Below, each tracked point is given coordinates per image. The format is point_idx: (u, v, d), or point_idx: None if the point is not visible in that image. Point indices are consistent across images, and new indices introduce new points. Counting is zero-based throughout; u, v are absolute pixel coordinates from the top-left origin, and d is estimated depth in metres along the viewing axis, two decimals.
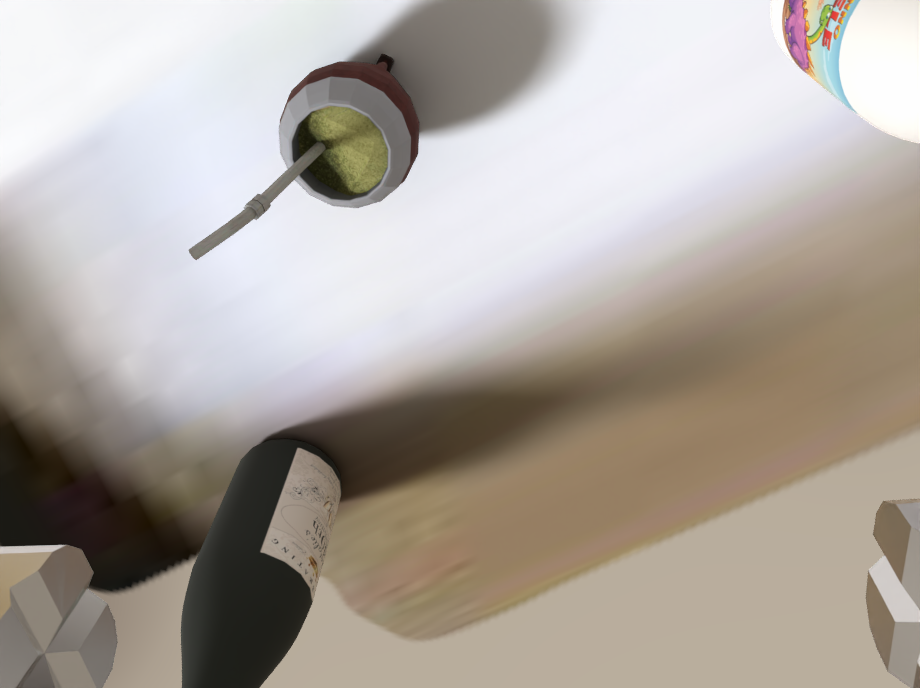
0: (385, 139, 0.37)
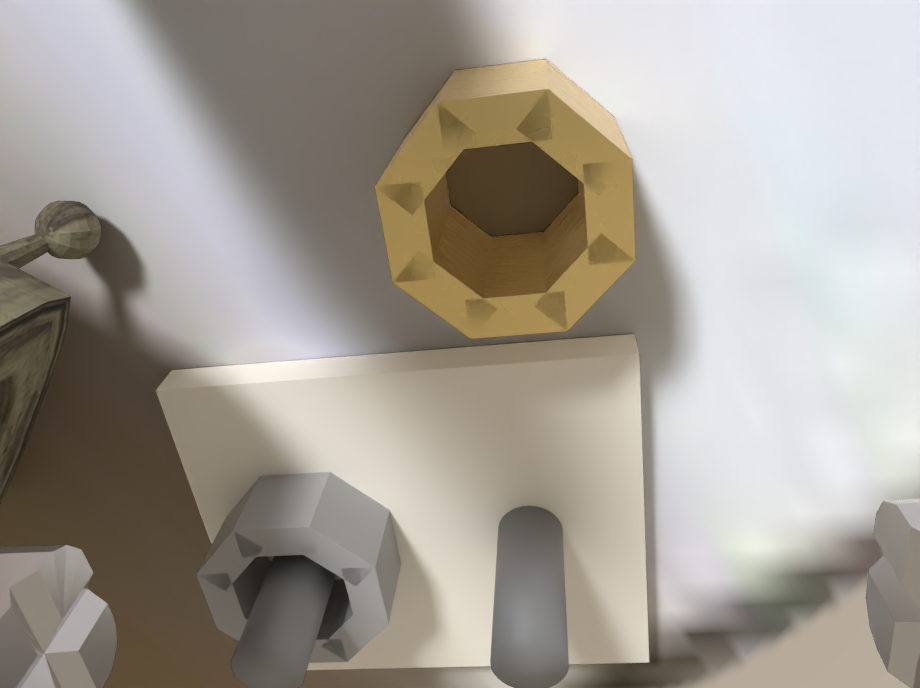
0: None
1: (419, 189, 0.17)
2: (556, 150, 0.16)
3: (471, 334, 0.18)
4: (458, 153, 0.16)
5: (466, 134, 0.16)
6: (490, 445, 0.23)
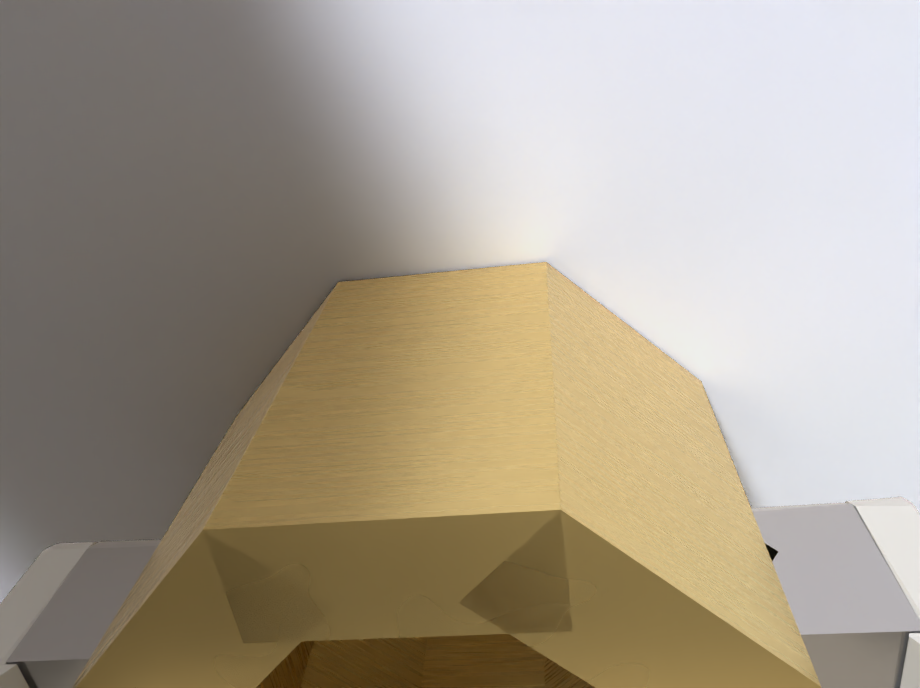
0: None
1: None
2: (584, 654, 0.05)
3: None
4: (288, 647, 0.05)
5: (306, 607, 0.05)
6: None
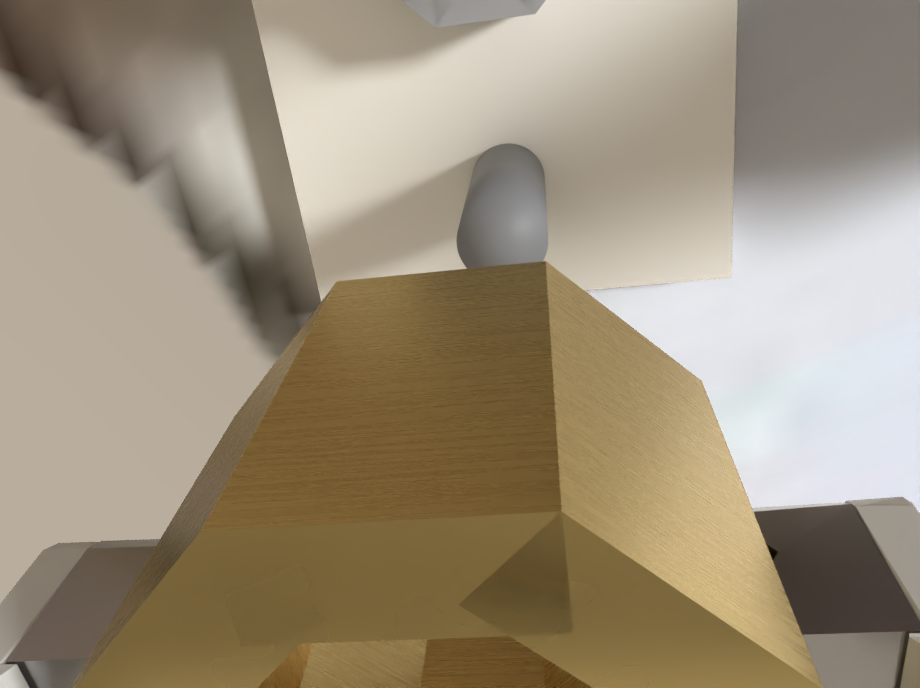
0: None
1: None
2: (585, 656, 0.05)
3: None
4: (286, 649, 0.05)
5: (304, 609, 0.05)
6: (629, 134, 0.21)
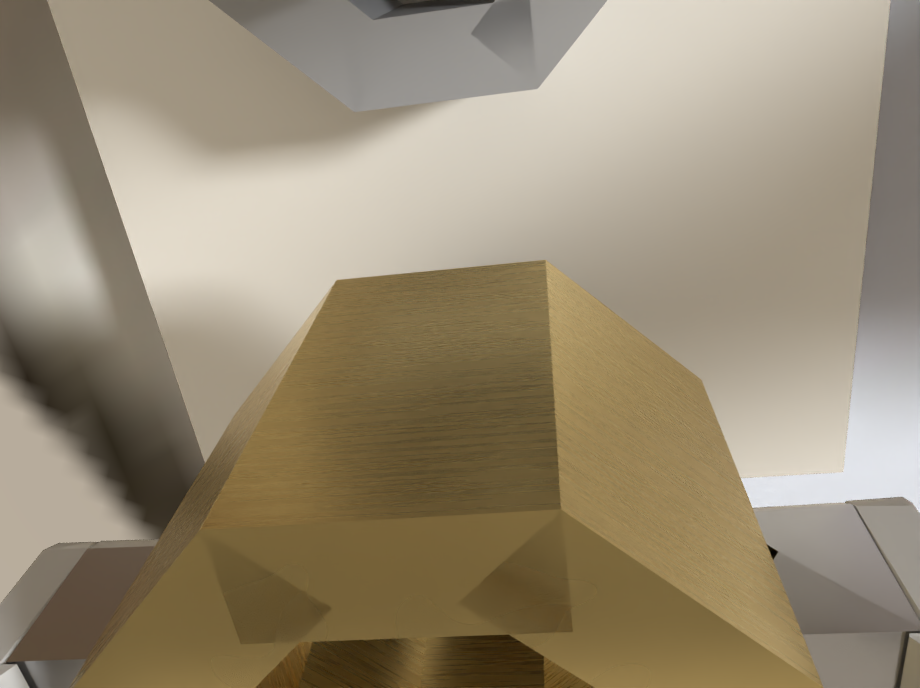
0: None
1: None
2: (585, 655, 0.05)
3: None
4: (286, 648, 0.05)
5: (304, 608, 0.05)
6: (689, 263, 0.13)
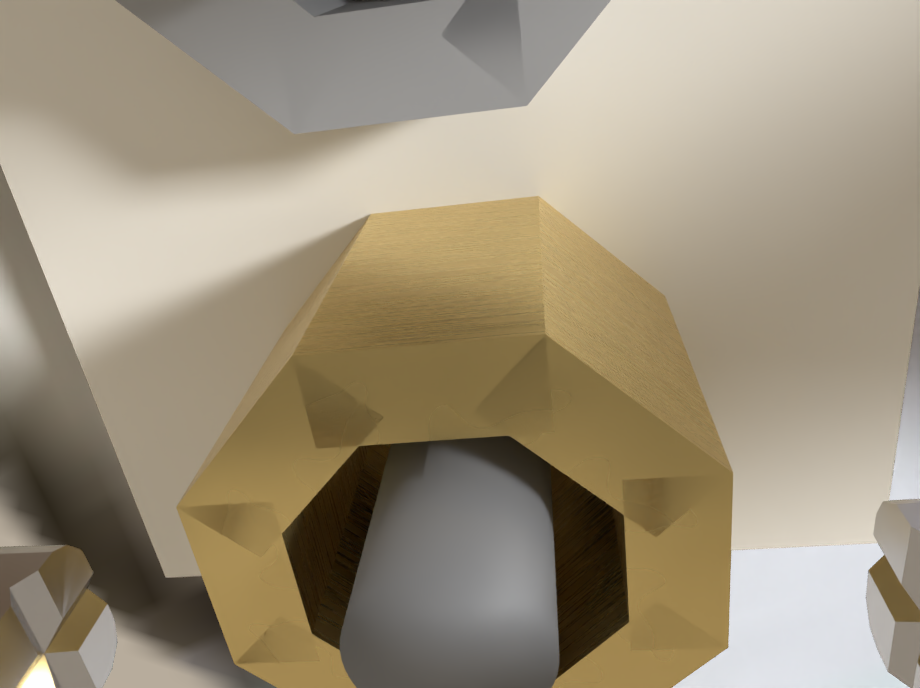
0: None
1: (270, 514, 0.08)
2: (563, 452, 0.07)
3: None
4: (348, 452, 0.07)
5: (363, 418, 0.07)
6: (709, 307, 0.11)
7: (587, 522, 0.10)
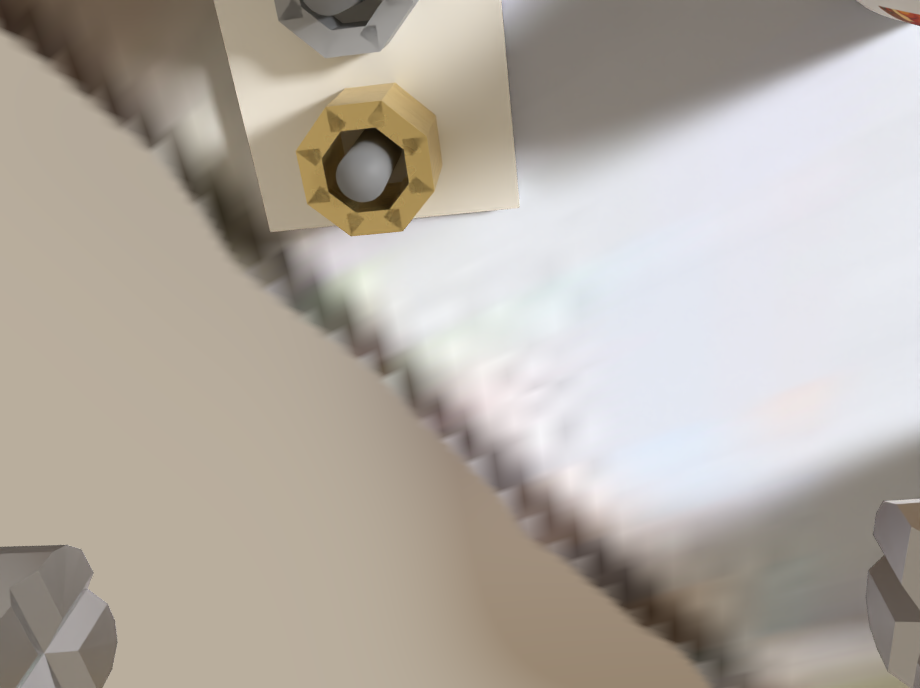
0: None
1: (318, 152, 0.32)
2: (388, 132, 0.31)
3: (351, 234, 0.33)
4: (338, 133, 0.31)
5: (341, 123, 0.31)
6: (449, 119, 0.35)
7: None
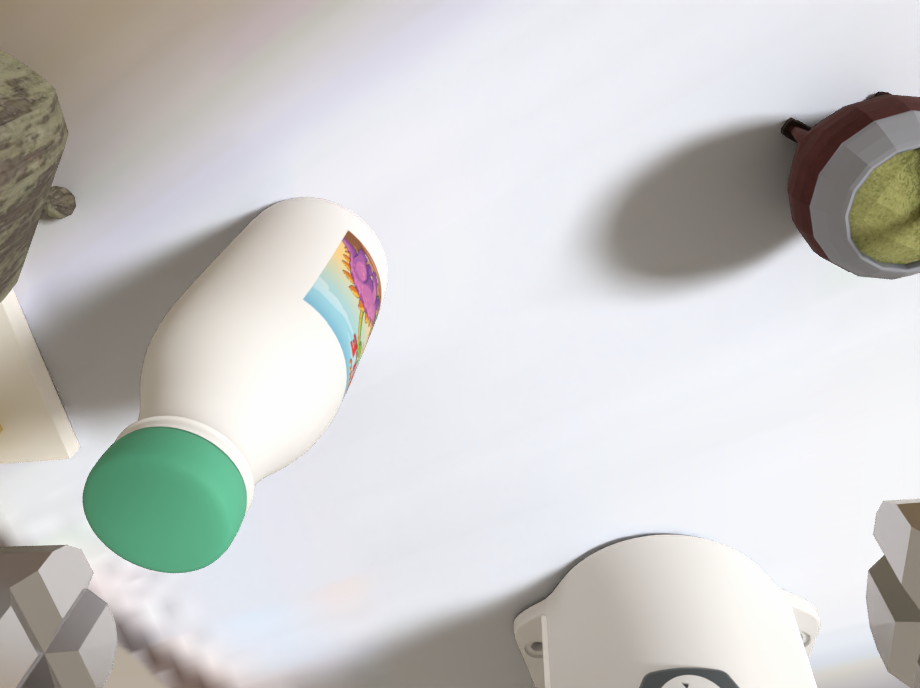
0: (848, 228, 0.30)
1: None
2: None
3: None
4: None
5: None
6: None
7: None
